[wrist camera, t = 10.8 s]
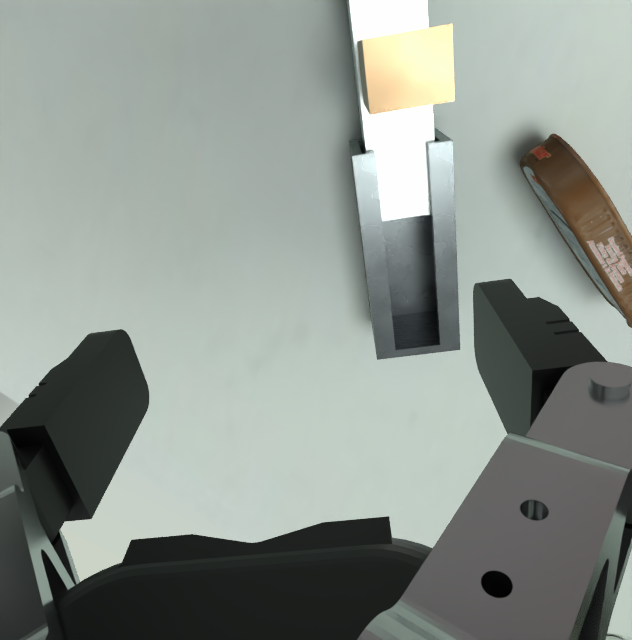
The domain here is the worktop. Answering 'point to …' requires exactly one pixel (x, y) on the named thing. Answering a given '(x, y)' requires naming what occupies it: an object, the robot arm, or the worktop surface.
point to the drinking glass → (612, 638)
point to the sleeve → (410, 259)
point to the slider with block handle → (400, 95)
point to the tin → (583, 218)
